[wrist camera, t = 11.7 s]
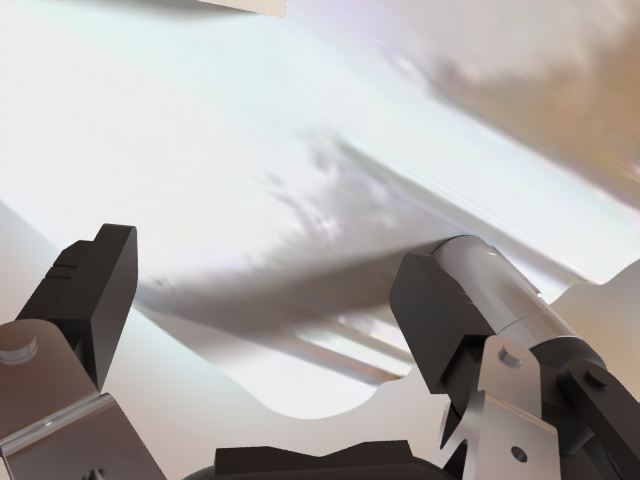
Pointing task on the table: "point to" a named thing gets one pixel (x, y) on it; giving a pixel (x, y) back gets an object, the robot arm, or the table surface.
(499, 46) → the table surface
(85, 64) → the table surface
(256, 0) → the frame
